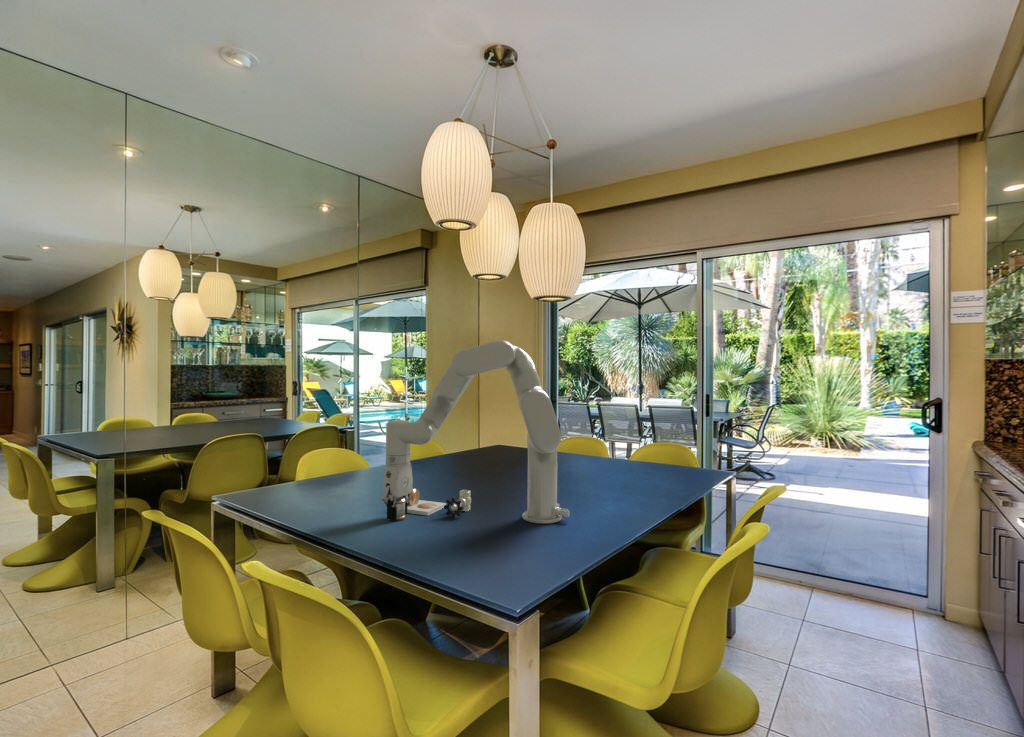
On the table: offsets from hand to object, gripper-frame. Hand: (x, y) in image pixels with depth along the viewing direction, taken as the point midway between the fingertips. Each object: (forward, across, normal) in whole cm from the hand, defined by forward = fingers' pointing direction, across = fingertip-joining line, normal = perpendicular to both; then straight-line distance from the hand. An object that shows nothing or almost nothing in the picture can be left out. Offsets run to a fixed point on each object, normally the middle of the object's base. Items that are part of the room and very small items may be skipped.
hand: (397, 516), depth 159 cm
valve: (+1, +14, -15) cm, 21 cm away
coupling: (+1, 0, 0) cm, 1 cm away
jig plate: (+1, +13, -1) cm, 13 cm away
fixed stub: (+1, +13, +4) cm, 14 cm away
